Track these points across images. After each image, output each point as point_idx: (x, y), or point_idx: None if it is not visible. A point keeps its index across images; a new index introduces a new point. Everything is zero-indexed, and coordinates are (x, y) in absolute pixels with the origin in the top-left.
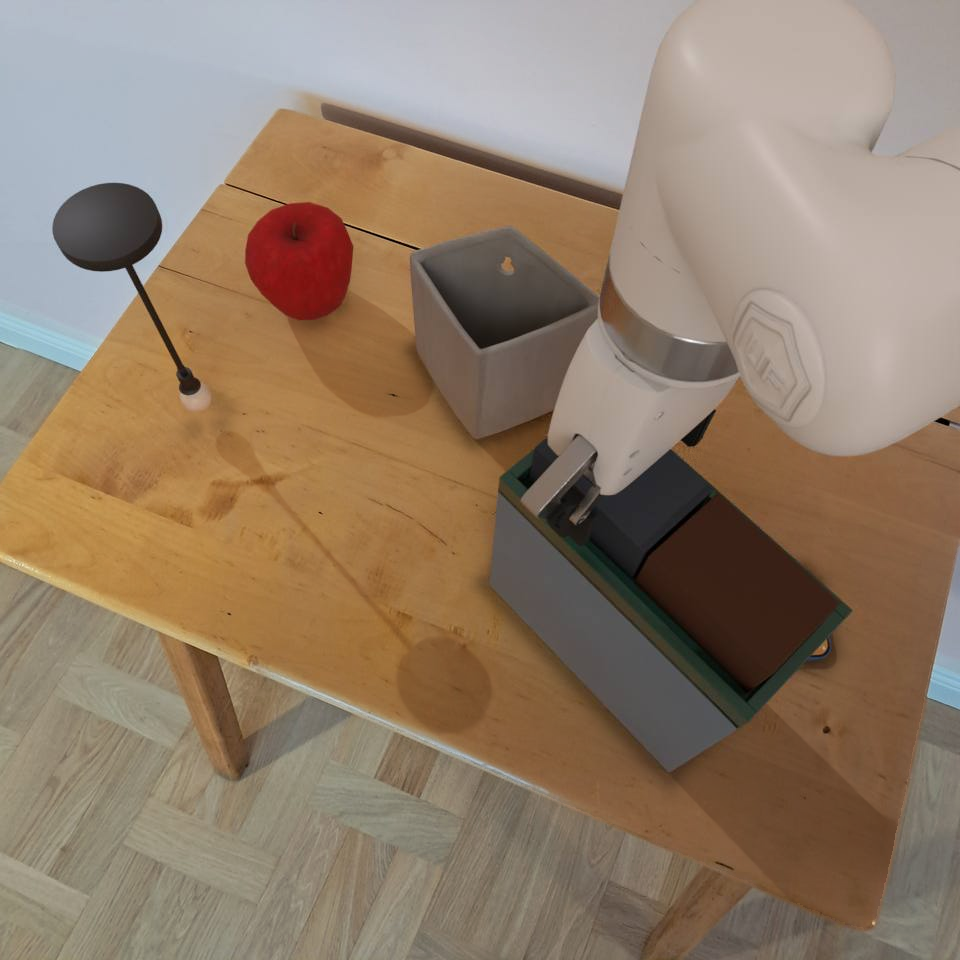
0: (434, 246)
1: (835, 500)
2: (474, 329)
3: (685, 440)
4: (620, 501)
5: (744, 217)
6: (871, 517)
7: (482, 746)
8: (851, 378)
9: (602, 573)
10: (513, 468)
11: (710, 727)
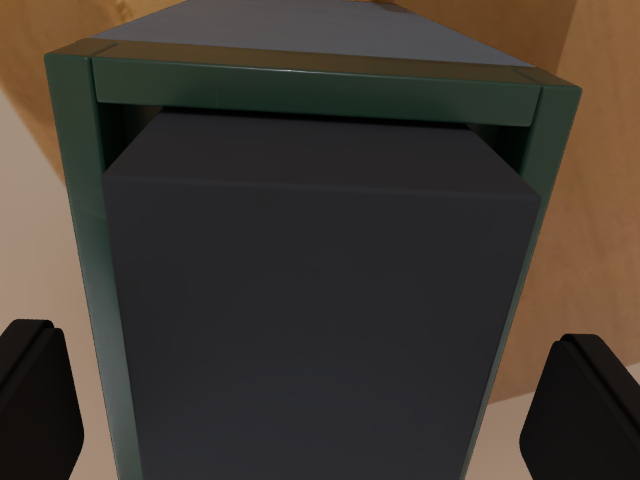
0: None
1: (632, 257)
2: None
3: (529, 439)
4: (211, 478)
5: None
6: (631, 295)
7: (57, 154)
8: None
9: (116, 422)
10: (109, 66)
11: None
